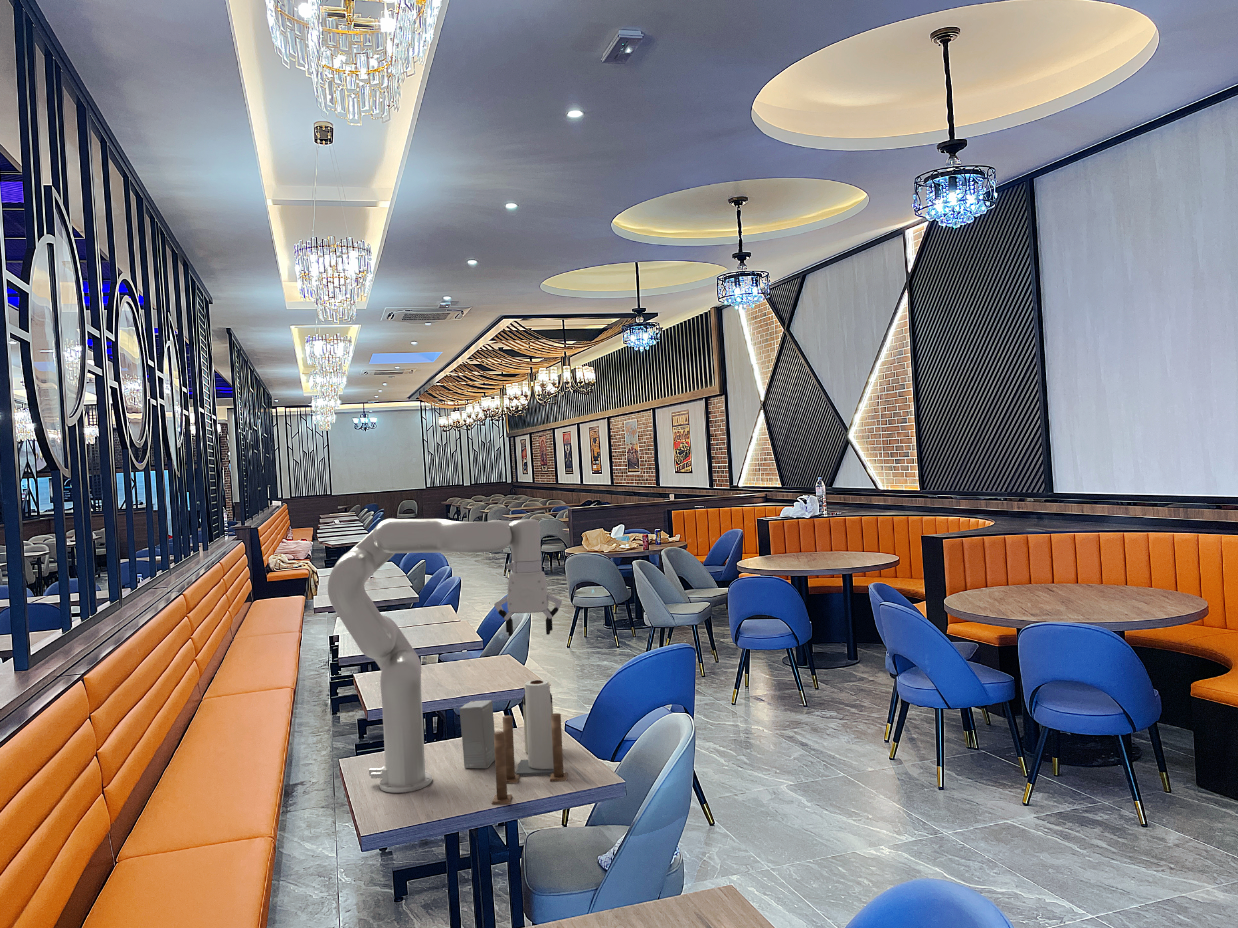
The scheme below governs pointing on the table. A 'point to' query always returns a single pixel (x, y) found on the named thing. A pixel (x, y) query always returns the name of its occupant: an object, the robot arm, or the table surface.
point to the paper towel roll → (539, 724)
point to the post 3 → (557, 749)
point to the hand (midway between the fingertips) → (529, 634)
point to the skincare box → (477, 734)
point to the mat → (531, 770)
